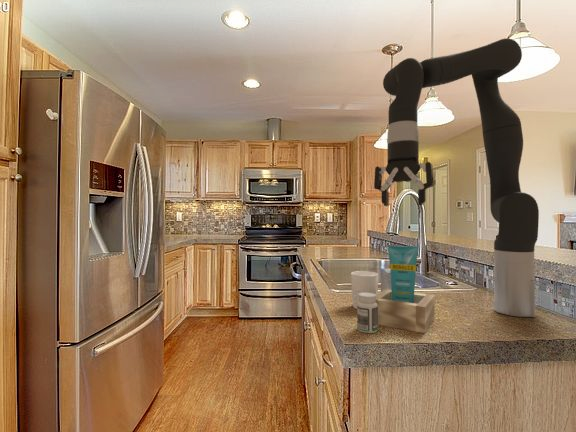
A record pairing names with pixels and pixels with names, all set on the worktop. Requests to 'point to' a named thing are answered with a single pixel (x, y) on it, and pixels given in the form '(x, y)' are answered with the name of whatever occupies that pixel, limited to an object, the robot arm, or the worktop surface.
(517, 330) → the worktop surface
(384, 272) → the medicine box
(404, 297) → the tube
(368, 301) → the pill bottle
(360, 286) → the white cup
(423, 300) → the socket holder
